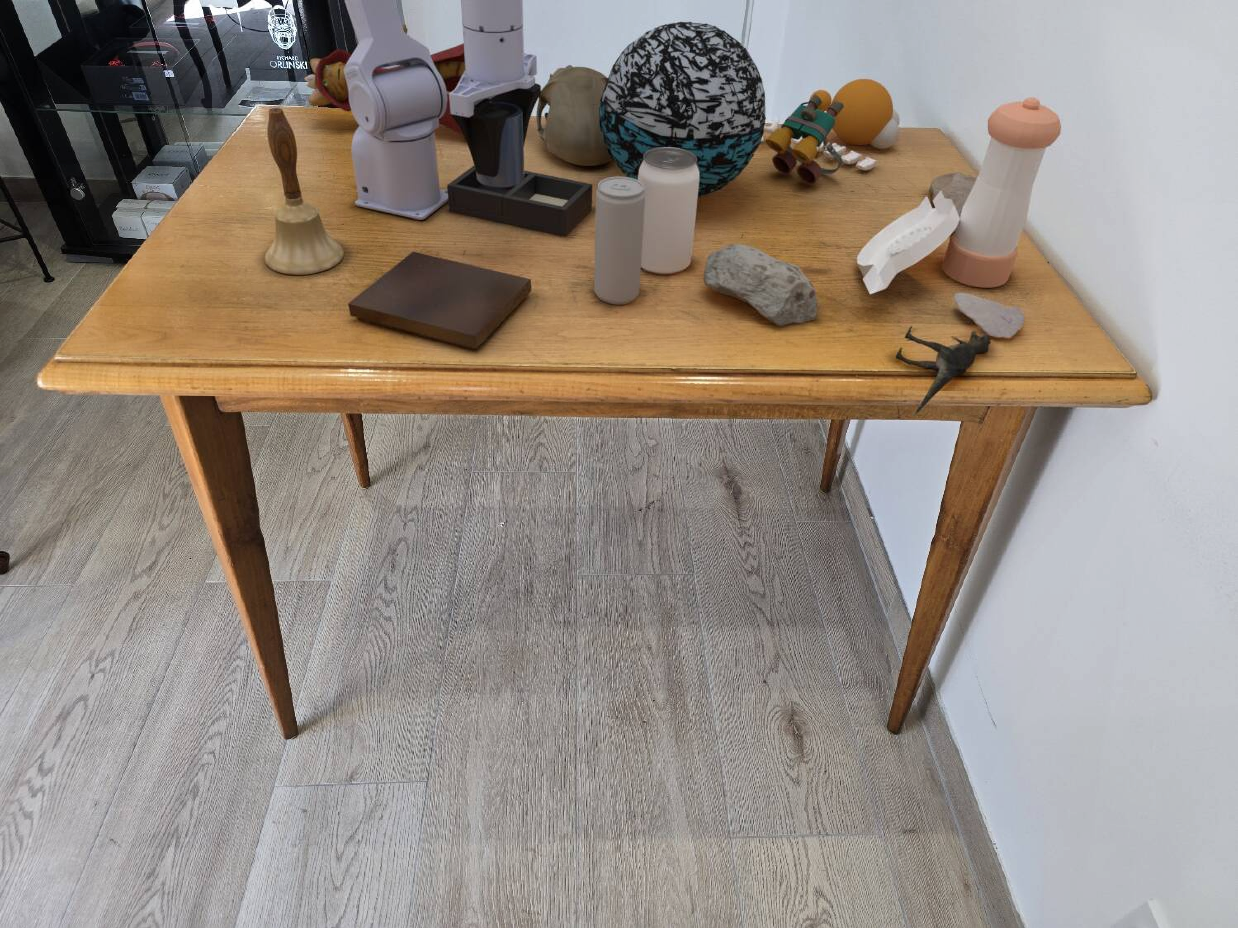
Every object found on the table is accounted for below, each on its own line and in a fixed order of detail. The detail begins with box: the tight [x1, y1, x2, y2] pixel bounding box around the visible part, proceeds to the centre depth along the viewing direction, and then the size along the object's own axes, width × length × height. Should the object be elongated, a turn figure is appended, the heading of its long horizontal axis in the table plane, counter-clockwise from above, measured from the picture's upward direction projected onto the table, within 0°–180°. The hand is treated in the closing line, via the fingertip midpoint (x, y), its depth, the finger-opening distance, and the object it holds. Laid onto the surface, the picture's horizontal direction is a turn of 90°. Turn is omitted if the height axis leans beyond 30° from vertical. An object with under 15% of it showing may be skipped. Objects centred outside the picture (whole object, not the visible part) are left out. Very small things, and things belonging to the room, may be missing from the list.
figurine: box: [304, 24, 491, 136], centre depth 125 cm, size 16×13×30 cm
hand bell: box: [264, 107, 345, 276], centre depth 92 cm, size 8×8×16 cm
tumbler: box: [476, 102, 525, 188], centre depth 91 cm, size 5×5×7 cm
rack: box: [446, 164, 593, 237], centre depth 107 cm, size 15×8×3 cm, turn 69°
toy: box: [799, 78, 900, 150], centre depth 127 cm, size 9×10×15 cm
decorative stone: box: [703, 243, 818, 327], centre depth 92 cm, size 12×11×5 cm
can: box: [638, 147, 699, 276], centre depth 95 cm, size 6×6×12 cm
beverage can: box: [593, 176, 645, 306], centre depth 89 cm, size 5×5×12 cm
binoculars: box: [765, 94, 844, 186], centre depth 116 cm, size 9×9×10 cm
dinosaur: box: [895, 325, 992, 417], centre depth 83 cm, size 4×20×7 cm
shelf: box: [347, 251, 532, 351], centre depth 89 cm, size 14×12×2 cm
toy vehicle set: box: [792, 136, 878, 172], centre depth 124 cm, size 12×4×2 cm, turn 49°
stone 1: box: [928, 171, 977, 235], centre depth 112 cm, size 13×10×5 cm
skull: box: [535, 64, 613, 167], centre depth 120 cm, size 12×18×12 cm, turn 15°
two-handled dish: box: [856, 190, 960, 295], centre depth 98 cm, size 10×25×2 cm
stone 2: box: [953, 292, 1026, 339], centre depth 91 cm, size 6×8×2 cm
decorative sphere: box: [599, 21, 767, 198], centre depth 107 cm, size 20×20×20 cm
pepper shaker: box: [941, 97, 1062, 289], centre depth 94 cm, size 7×7×19 cm
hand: (499, 165), depth 92 cm, fingers closed on tumbler, 5 cm apart
